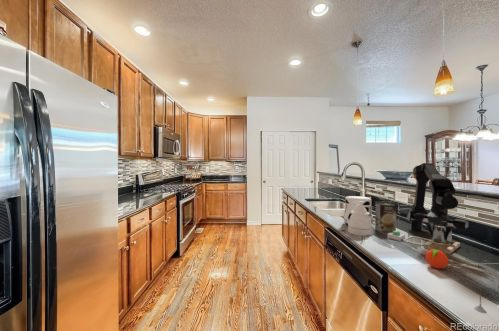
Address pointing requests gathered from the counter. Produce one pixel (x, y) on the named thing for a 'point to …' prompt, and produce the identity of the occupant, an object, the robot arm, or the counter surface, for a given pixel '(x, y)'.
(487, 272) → the counter surface
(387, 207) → the coffee box
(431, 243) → the shallow beige tray
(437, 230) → the cylinder
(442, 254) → the tomato
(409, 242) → the grey flat rimmed tray
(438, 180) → the robot arm
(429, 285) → the counter surface
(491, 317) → the counter surface
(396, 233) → the button
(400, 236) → the white square frame
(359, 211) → the honey pot
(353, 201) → the milk container
